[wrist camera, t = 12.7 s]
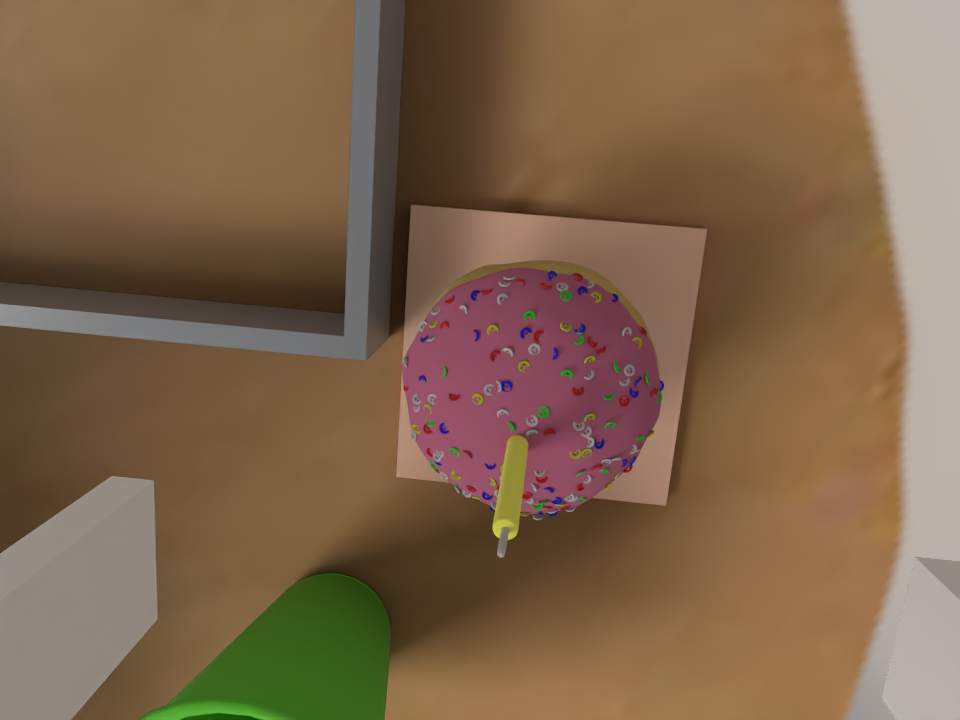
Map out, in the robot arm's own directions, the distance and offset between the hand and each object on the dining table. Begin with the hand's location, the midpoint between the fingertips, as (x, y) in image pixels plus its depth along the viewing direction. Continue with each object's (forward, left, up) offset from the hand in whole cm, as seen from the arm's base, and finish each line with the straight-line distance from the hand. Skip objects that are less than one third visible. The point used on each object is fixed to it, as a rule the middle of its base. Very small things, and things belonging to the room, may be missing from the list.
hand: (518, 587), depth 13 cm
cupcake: (0, 0, -17) cm, 17 cm away
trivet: (0, 0, -17) cm, 17 cm away
